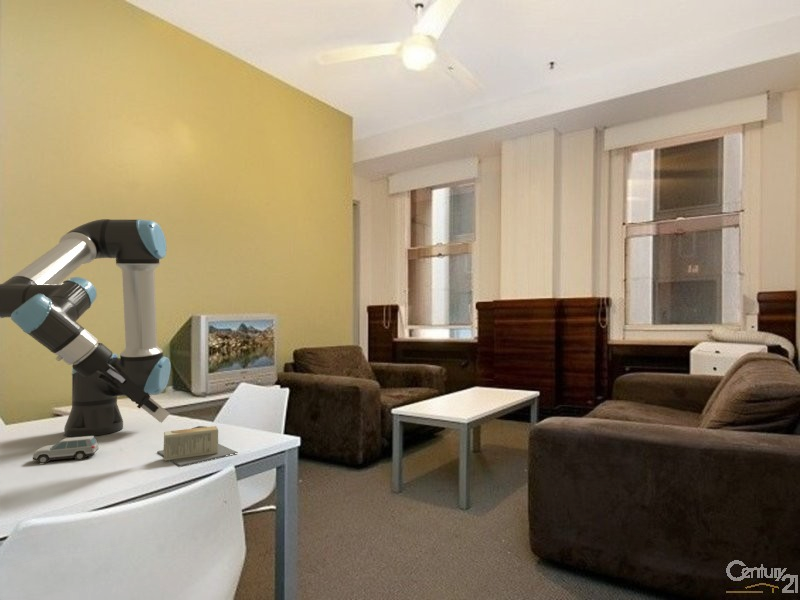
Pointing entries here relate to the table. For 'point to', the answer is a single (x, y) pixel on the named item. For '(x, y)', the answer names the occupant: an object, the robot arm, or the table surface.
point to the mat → (191, 460)
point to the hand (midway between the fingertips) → (164, 417)
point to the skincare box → (190, 442)
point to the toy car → (67, 449)
